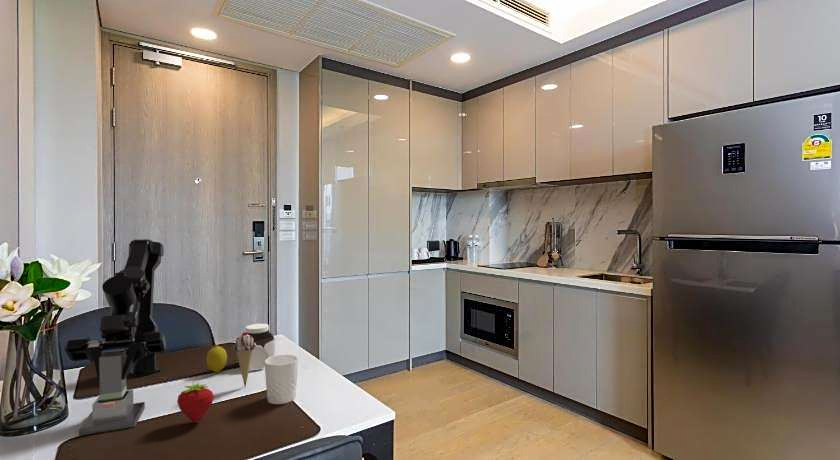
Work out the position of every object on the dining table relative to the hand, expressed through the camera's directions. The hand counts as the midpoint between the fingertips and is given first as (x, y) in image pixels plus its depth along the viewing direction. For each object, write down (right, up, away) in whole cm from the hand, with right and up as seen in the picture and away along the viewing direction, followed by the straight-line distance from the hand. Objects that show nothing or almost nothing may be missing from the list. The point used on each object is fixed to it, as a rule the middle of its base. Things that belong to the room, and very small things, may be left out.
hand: (111, 380), depth 95 cm
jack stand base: (-1, -10, +2) cm, 10 cm away
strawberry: (+18, -10, +1) cm, 21 cm away
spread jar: (+18, -9, +39) cm, 44 cm away
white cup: (+33, -10, +13) cm, 37 cm away
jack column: (-1, -6, +1) cm, 6 cm away
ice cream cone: (+21, -9, +21) cm, 31 cm away
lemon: (+8, -9, +32) cm, 34 cm away
